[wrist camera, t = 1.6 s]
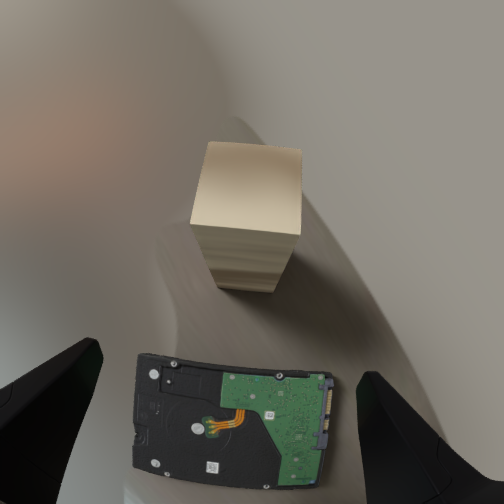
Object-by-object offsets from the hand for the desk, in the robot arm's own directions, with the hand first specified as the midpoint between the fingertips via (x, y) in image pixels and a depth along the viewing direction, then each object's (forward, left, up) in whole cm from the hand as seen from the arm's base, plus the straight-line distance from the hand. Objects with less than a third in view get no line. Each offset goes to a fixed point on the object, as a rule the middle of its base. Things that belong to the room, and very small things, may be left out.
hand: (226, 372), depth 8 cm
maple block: (+8, 0, -13) cm, 15 cm away
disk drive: (-6, 0, -14) cm, 15 cm away
